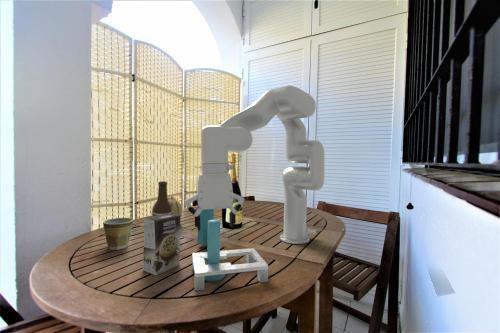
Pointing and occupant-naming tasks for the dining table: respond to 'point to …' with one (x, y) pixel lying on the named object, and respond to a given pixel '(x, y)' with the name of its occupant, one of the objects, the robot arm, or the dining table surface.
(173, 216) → the food box
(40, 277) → the dining table surface
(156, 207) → the beer bottle
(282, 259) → the dining table surface
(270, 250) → the dining table surface
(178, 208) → the cantaloupe
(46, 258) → the dining table surface
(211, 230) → the flanged peg
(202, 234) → the beverage bottle
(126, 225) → the ceramic cup
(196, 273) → the keyhole plate
